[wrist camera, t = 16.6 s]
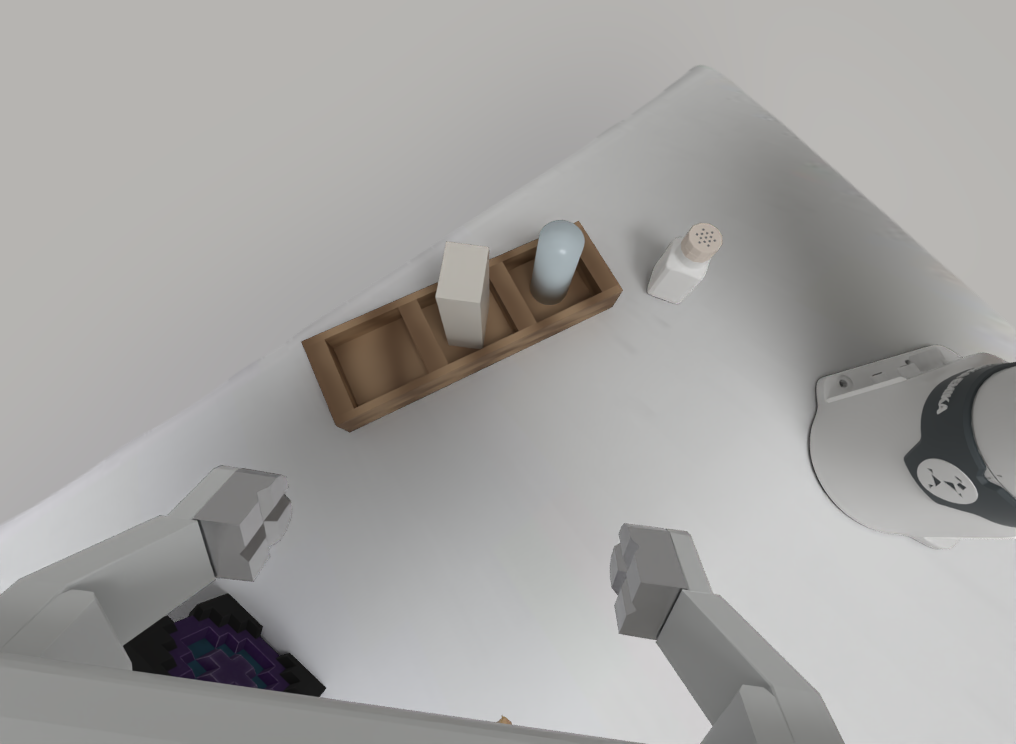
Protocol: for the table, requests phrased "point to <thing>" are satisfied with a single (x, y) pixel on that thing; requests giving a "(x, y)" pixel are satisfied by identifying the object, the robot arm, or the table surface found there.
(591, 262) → the rack
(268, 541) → the robot arm
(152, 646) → the energy cube
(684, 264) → the pepper shaker
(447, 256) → the clay block
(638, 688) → the table surface
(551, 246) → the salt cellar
